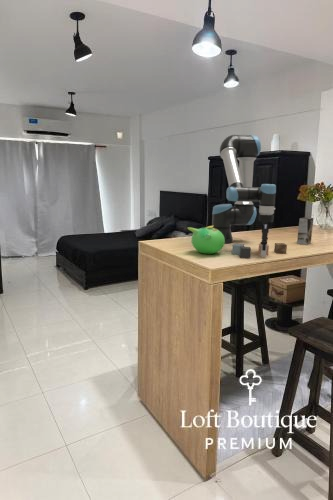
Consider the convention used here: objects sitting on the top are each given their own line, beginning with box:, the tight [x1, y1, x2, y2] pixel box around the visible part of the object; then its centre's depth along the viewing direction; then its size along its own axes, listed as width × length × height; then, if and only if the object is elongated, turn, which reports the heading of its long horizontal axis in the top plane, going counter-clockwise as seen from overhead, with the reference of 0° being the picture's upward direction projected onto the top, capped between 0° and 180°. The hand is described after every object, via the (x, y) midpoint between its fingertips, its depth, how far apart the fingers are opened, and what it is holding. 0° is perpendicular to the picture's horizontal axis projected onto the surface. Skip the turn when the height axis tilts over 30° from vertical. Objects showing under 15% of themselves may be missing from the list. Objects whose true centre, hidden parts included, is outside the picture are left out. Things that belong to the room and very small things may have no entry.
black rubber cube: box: [239, 246, 252, 259], centre depth 177 cm, size 5×5×5 cm
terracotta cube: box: [257, 243, 270, 256], centre depth 185 cm, size 5×5×5 cm
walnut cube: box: [273, 242, 288, 255], centre depth 189 cm, size 5×5×5 cm
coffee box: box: [296, 217, 315, 246], centre depth 217 cm, size 9×6×16 cm
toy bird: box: [186, 225, 226, 255], centre depth 183 cm, size 18×17×15 cm
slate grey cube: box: [231, 243, 245, 256], centre depth 184 cm, size 5×5×5 cm
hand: (263, 253), depth 185 cm, fingers open, 13 cm apart
